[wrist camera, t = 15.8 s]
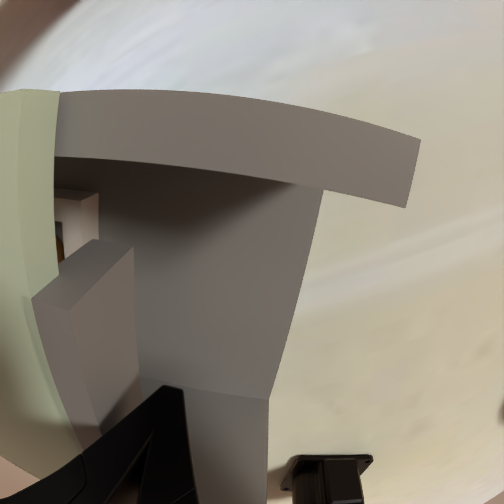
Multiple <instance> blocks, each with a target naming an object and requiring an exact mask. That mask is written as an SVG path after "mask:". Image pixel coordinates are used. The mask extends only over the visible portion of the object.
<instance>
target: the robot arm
mask: <svg viewBox="0 0 504 504" xmlns="http://www.w3.org/2000/svg"><path fill="white" fill-rule="evenodd" d="M372 462H373V456H372V455H364V456H301V457H298V458H297V459H296V461H295V463H294V464H293V466H292V468H291V469H290V471H289V473H288V474H287V476H286V478H285V479H284V481H283V482H282V484H281V490H282V491H292V501H293V504H364V496H363V490H362V485H361V479H360V475H361V474H362V473H363V472H364V471H365V470H366V469H367V468H368V466H369V465H370V464H371V463H372ZM0 504H200V500H199V495H198V490H197V484H196V478H195V472H194V466H193V459H192V452H191V445H190V438H189V431H188V423H187V414H186V406H185V397H184V390H183V389H182V388H178V387H173V386H169V385H162V386H161V387H159V388H158V389H157V390H156V391H155V392H154V393H152V394H151V395H150V396H149V397H148V398H147V399H145V400H144V401H143V402H142V403H141V404H140V405H138V406H137V407H136V408H135V409H134V410H132V411H131V412H130V413H129V414H128V415H127V416H125V417H124V418H123V419H122V420H121V421H119V422H118V423H117V424H116V425H114V426H113V427H112V428H111V429H110V430H108V431H107V432H106V433H105V434H104V435H102V436H101V437H100V438H99V439H97V440H96V441H95V442H94V443H92V444H91V445H90V446H89V447H87V448H86V449H85V450H84V451H82V454H78V455H77V456H76V457H75V458H73V459H72V460H71V461H70V462H68V463H67V464H65V465H64V466H63V467H61V468H60V469H58V470H57V471H55V472H54V473H52V474H50V475H49V476H47V477H45V478H44V479H42V480H40V481H38V482H36V483H35V484H33V485H31V486H29V487H27V488H25V489H23V490H21V491H19V492H17V493H15V494H13V495H12V496H9V497H6V498H3V499H0Z"/></svg>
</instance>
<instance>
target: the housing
mask: <svg viewBox="0 0 504 504" xmlns="http://www.w3.org/2000/svg"><path fill="white" fill-rule="evenodd" d="M420 141H421V140H420V139H417V138H415V137H412V136H409V135H406V134H403V133H400V132H397V131H393V130H390V129H387V128H384V127H380V126H377V125H374V124H370V123H367V122H363V121H359V120H356V119H352V118H348V117H344V116H340V115H336V114H332V113H328V112H323V111H319V110H314V109H310V108H305V107H300V106H295V105H289V104H284V103H278V102H272V101H266V100H260V99H253V98H246V97H238V96H230V95H221V94H211V93H200V92H187V91H170V90H91V91H74V92H62V93H60V96H59V104H58V113H57V122H56V134H55V150H54V222H55V233H56V234H57V235H58V237H59V238H60V239H61V241H62V243H63V244H64V255H65V259H66V258H67V257H68V256H70V255H71V254H72V253H74V252H75V251H76V250H78V249H79V248H80V247H82V246H83V245H85V244H86V243H87V242H89V241H90V240H92V239H97V240H103V241H108V242H114V243H119V244H125V245H131V246H134V298H135V321H136V338H137V351H138V363H139V373H140V382H141V391H142V399H143V401H144V400H145V399H147V398H148V397H149V396H150V395H151V394H152V393H154V392H155V391H156V390H157V389H158V388H159V387H161V386H162V385H169V386H173V387H178V388H182V389H183V390H184V397H185V406H186V414H187V423H188V431H189V438H190V445H191V452H192V459H193V466H194V472H195V478H196V484H197V490H198V495H199V500H200V504H266V500H267V463H268V413H269V397H270V394H271V391H272V388H273V384H274V381H275V378H276V374H277V371H278V368H279V364H280V361H281V357H282V354H283V350H284V347H285V343H286V340H287V336H288V333H289V329H290V326H291V322H292V318H293V315H294V311H295V307H296V303H297V300H298V296H299V292H300V288H301V284H302V280H303V276H304V272H305V268H306V264H307V260H308V256H309V252H310V248H311V243H312V239H313V235H314V231H315V226H316V222H317V217H318V213H319V208H320V204H321V199H322V195H323V190H329V191H333V192H338V193H343V194H347V195H352V196H356V197H361V198H365V199H370V200H374V201H378V202H382V203H386V204H390V205H394V206H398V207H402V208H406V204H407V200H408V196H409V192H410V188H411V184H412V180H413V175H414V171H415V166H416V161H417V157H418V152H419V147H420Z"/></svg>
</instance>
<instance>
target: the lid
mask: <svg viewBox="0 0 504 504" xmlns="http://www.w3.org/2000/svg"><path fill="white" fill-rule="evenodd" d="M59 96H60V91H48V90H34V89H20V90H15V91H9V92H4V93H0V456H2V457H3V458H5V459H6V460H8V461H9V462H11V463H13V464H15V465H16V466H18V467H19V468H21V469H23V470H24V471H26V472H28V473H30V474H32V475H33V476H35V477H37V478H39V479H41V480H42V479H44V478H45V477H47V476H49V475H50V474H52V473H54V472H55V471H57V470H58V469H60V468H61V467H63V466H64V465H65V464H67V463H68V462H70V461H71V460H72V459H73V458H75V457H76V456H77V455H78V454H82V451H84V450H85V449H86V448H87V447H89V446H90V445H91V444H92V443H94V442H95V441H96V440H97V439H99V438H100V437H101V436H102V435H104V434H105V433H106V432H107V431H108V430H110V429H111V428H112V427H113V426H114V425H116V424H117V423H118V422H119V421H121V420H122V419H123V418H124V417H125V416H127V415H128V414H129V413H130V412H131V411H132V410H134V409H135V408H136V407H137V406H138V405H140V404H141V403H142V402H143V399H142V391H141V382H140V373H139V363H138V351H137V338H136V321H135V298H134V246H131V245H125V244H119V243H114V242H108V241H103V240H97V239H92V240H90V241H89V242H87V243H86V244H85V245H83V246H82V247H80V248H79V249H78V250H76V251H75V252H74V253H72V254H71V255H70V256H68V257H67V258H66V259H64V260H63V261H62V262H60V263H59V264H58V261H57V250H56V238H55V222H54V150H55V134H56V122H57V113H58V104H59Z"/></svg>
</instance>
